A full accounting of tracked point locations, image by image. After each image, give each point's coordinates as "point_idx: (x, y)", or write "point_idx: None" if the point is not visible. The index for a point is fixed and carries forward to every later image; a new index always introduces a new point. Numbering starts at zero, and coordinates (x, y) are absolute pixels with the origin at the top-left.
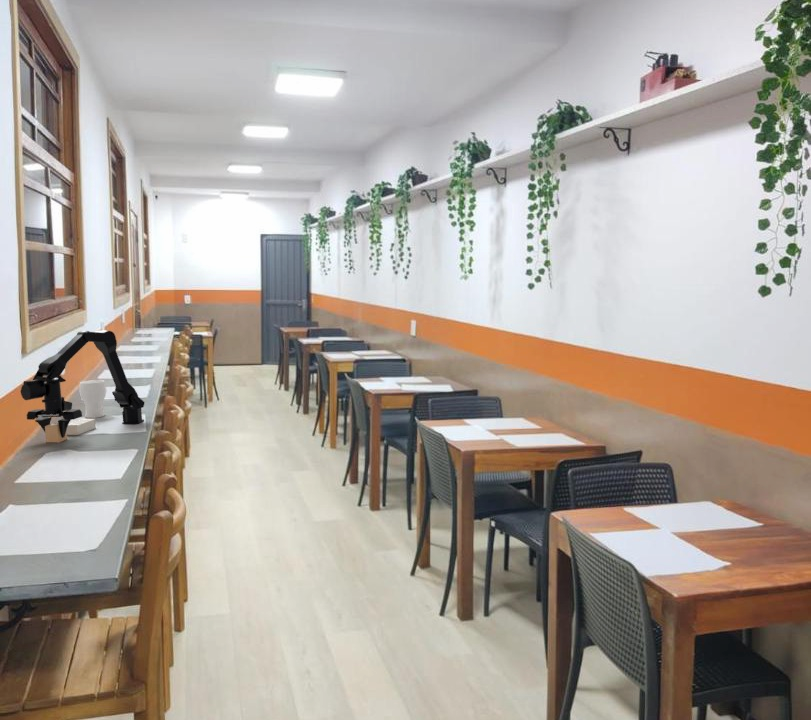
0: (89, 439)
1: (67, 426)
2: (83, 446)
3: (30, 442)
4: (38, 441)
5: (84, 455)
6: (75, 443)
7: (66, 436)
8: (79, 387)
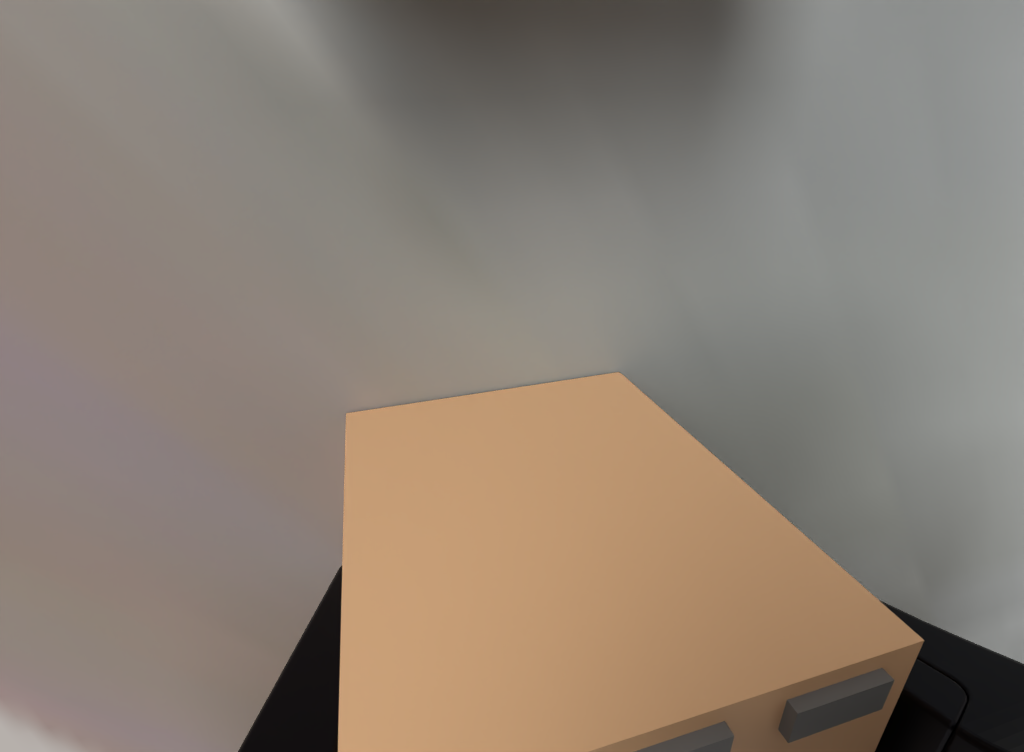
0: (974, 316)
1: (916, 621)
2: (958, 599)
3: (46, 713)
4: (145, 623)
5: None
6: (849, 538)
7: (645, 405)
8: None
